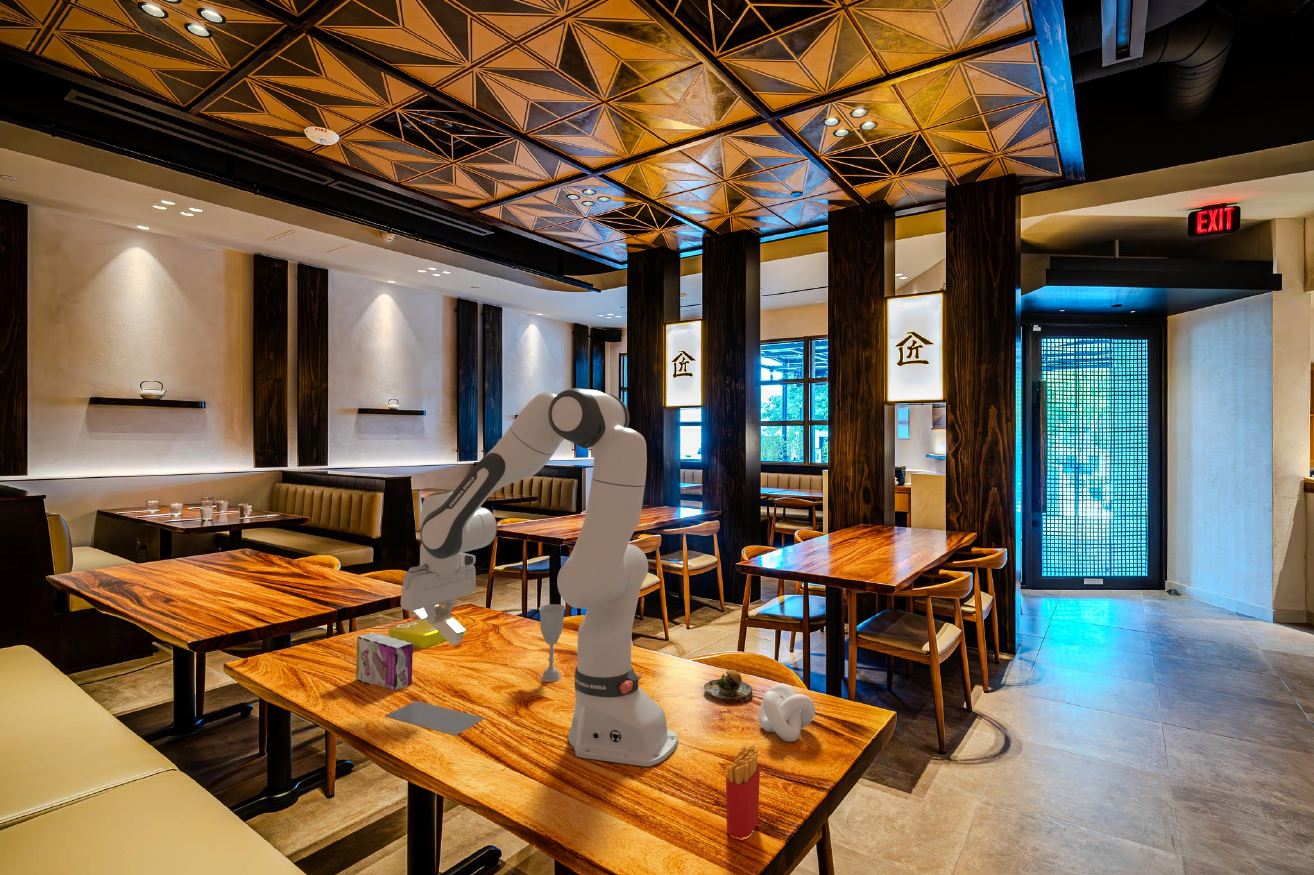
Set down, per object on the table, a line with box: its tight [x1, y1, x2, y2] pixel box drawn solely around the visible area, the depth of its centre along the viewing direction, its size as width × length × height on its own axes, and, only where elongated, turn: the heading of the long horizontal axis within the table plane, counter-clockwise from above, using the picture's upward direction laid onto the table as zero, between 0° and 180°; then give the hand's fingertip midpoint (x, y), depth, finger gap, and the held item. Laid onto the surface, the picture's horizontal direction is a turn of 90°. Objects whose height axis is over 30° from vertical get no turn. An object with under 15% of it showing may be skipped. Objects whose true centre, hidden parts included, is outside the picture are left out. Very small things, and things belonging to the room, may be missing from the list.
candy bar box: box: [355, 631, 414, 692], centre depth 154 cm, size 11×5×16 cm
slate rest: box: [384, 700, 486, 737], centre depth 134 cm, size 20×9×1 cm, turn 65°
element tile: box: [388, 618, 448, 650], centre depth 190 cm, size 15×15×5 cm
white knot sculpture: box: [758, 683, 816, 743], centre depth 130 cm, size 11×12×9 cm
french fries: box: [725, 744, 761, 838], centre depth 98 cm, size 8×4×12 cm, turn 151°
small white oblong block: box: [411, 604, 466, 646], centre depth 144 cm, size 17×5×4 cm, turn 59°
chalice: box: [538, 603, 566, 683], centre depth 159 cm, size 7×7×18 cm
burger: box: [703, 665, 753, 705], centre depth 151 cm, size 12×12×8 cm
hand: (439, 621), depth 144 cm, fingers closed on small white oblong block, 3 cm apart
